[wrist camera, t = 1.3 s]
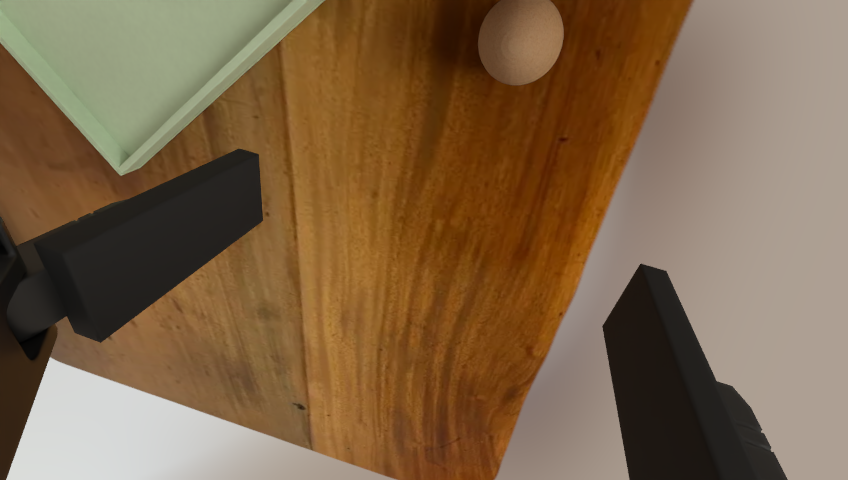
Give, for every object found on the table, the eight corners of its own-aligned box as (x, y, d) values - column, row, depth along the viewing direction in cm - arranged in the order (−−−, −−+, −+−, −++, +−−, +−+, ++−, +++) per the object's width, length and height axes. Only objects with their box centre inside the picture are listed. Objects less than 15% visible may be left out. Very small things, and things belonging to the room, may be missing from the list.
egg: (572, -3, 21) (580, -6, 17) (550, 82, 24) (551, 102, 19) (492, -11, 22) (476, -17, 17) (479, 72, 25) (462, 88, 20)
